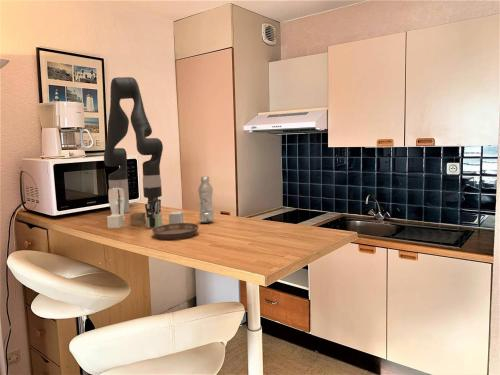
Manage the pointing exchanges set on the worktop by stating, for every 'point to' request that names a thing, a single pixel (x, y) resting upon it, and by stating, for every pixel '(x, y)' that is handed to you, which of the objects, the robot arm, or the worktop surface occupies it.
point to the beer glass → (116, 201)
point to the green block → (157, 221)
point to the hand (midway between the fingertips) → (154, 225)
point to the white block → (115, 221)
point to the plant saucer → (175, 230)
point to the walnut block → (138, 219)
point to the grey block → (176, 217)
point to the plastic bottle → (205, 201)
